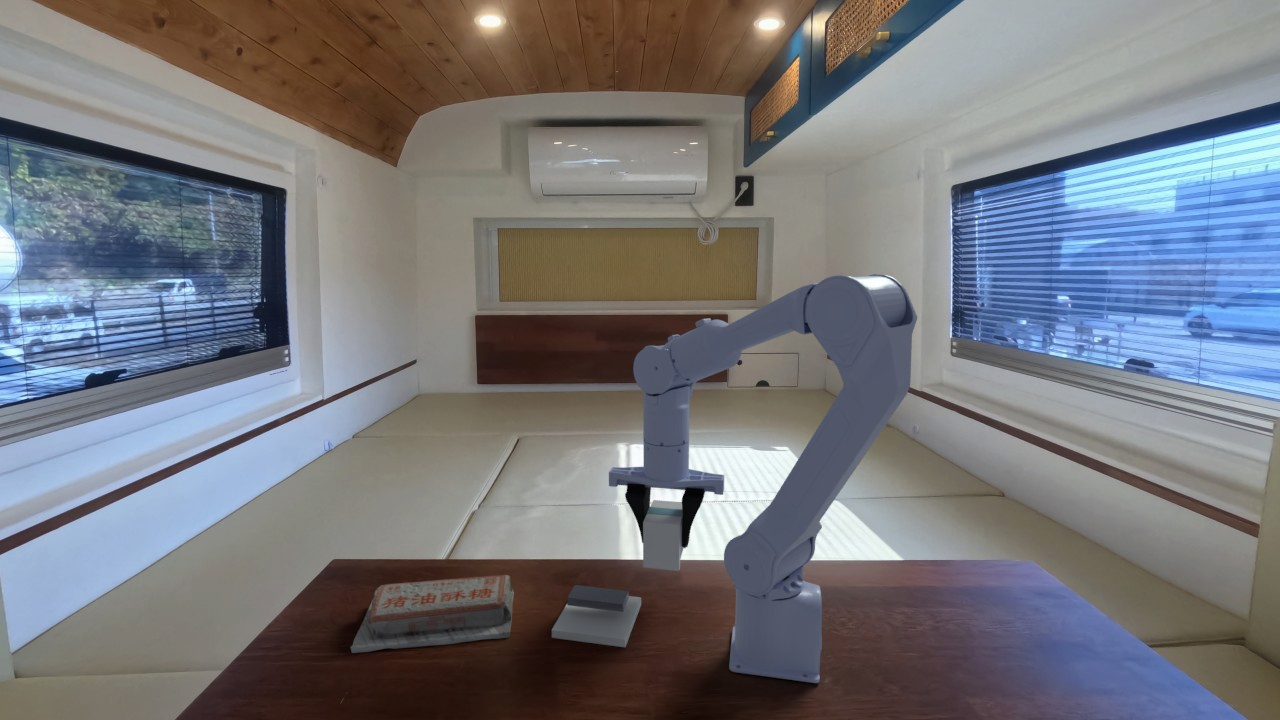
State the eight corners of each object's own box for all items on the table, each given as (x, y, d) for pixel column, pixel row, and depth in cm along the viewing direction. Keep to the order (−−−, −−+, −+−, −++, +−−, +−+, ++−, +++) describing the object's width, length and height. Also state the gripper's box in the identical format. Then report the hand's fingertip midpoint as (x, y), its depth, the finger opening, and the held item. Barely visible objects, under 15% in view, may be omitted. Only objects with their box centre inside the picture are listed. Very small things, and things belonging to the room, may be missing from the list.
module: (686, 545, 80) (687, 502, 79) (679, 571, 73) (679, 524, 72) (653, 541, 81) (653, 499, 80) (642, 567, 74) (642, 521, 73)
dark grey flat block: (628, 598, 74) (628, 591, 74) (622, 611, 72) (622, 604, 71) (575, 592, 76) (574, 585, 76) (567, 605, 73) (567, 597, 73)
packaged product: (513, 562, 80) (509, 604, 70) (514, 596, 80) (510, 641, 71) (371, 574, 77) (346, 619, 67) (373, 608, 78) (349, 657, 68)
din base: (641, 604, 78) (641, 597, 77) (625, 647, 69) (625, 639, 69) (575, 596, 79) (575, 589, 79) (551, 637, 71) (551, 629, 70)
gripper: (726, 434, 77) (724, 533, 79) (617, 428, 80) (618, 523, 82) (722, 450, 70) (720, 558, 72) (603, 443, 73) (605, 547, 75)
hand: (665, 541), depth 77 cm, fingers closed on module, 4 cm apart
